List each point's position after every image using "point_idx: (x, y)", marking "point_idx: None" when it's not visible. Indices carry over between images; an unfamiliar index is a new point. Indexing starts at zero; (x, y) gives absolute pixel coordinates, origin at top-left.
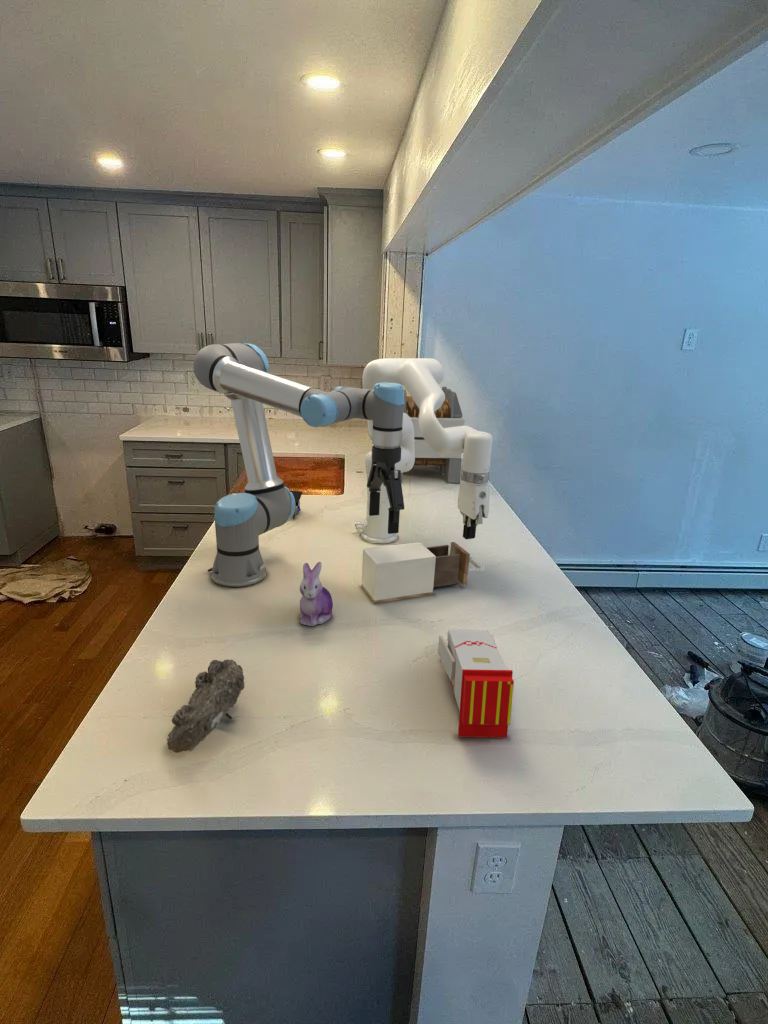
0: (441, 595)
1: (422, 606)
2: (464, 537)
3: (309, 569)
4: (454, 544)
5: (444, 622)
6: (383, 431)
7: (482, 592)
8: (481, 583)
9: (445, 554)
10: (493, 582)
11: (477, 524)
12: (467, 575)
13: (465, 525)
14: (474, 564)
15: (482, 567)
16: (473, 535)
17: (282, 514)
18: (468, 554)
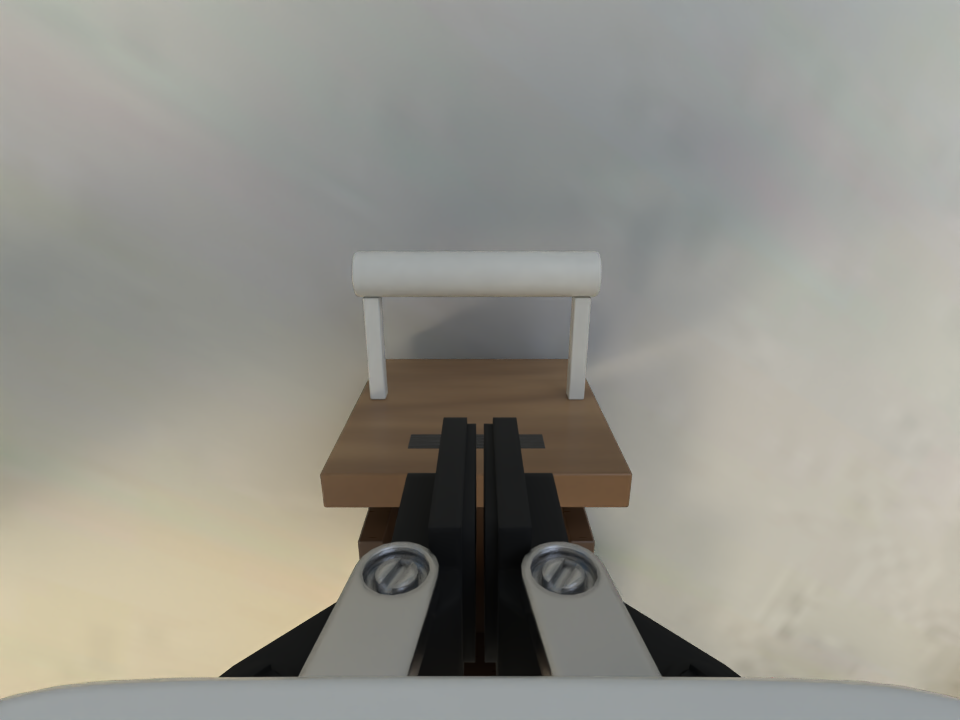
0: (596, 508)
1: (654, 619)
2: (476, 530)
3: None
4: (386, 502)
5: (817, 595)
6: None
7: (657, 287)
8: (552, 228)
9: (396, 513)
10: (568, 135)
11: (610, 578)
12: (588, 386)
13: (462, 662)
14: (511, 296)
15: (601, 276)
16: (552, 484)
17: None
18: (630, 486)
